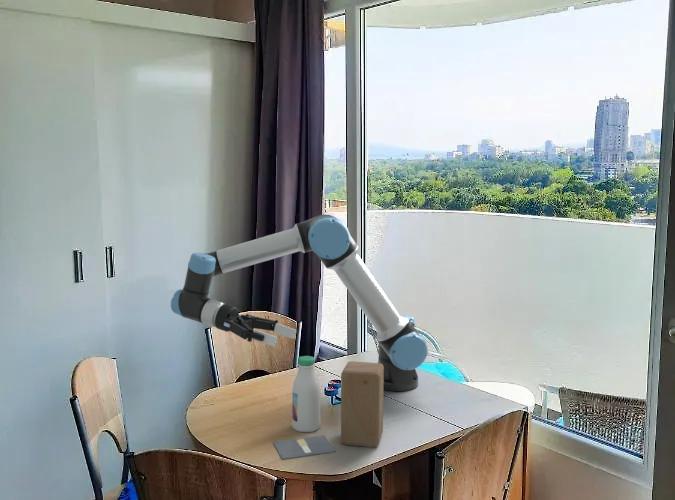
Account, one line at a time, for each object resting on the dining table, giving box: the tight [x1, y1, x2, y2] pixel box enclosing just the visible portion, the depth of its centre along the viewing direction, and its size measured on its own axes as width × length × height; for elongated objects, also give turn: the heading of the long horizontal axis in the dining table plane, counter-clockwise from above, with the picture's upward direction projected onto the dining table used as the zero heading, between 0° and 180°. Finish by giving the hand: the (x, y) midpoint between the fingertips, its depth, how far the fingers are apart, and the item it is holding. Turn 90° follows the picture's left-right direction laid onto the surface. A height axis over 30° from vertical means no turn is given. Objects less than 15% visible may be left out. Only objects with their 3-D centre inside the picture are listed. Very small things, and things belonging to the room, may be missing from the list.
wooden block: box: [340, 360, 384, 448], centre depth 168 cm, size 10×10×20 cm
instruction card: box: [272, 434, 337, 461], centre depth 164 cm, size 14×10×1 cm
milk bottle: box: [291, 355, 321, 433], centre depth 175 cm, size 8×8×20 cm
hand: (285, 338), depth 178 cm, fingers open, 13 cm apart
